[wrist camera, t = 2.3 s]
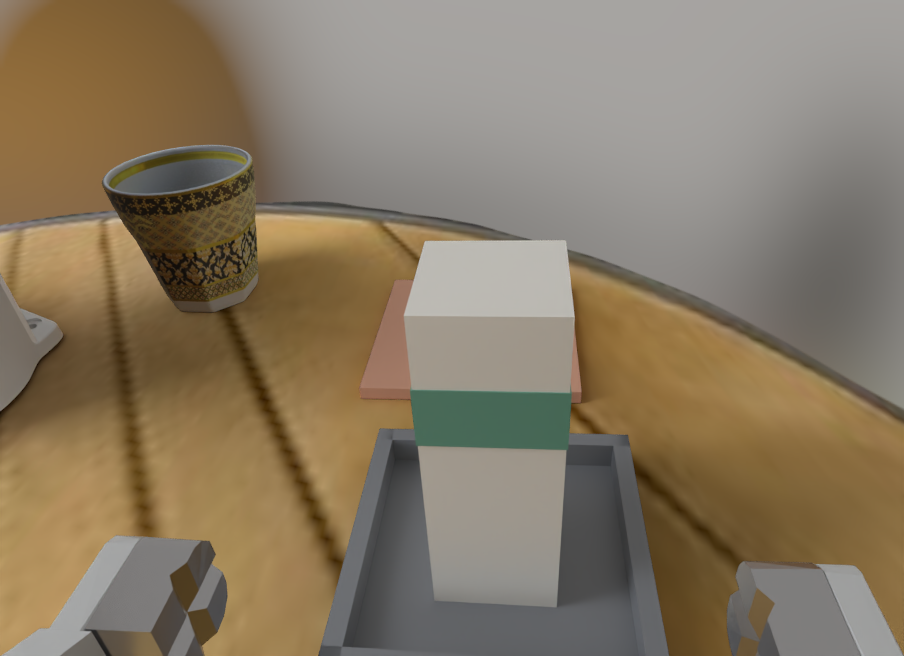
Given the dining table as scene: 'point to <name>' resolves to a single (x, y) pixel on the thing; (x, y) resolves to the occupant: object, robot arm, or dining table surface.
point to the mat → (390, 354)
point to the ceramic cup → (192, 221)
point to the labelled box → (492, 414)
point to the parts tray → (497, 625)
